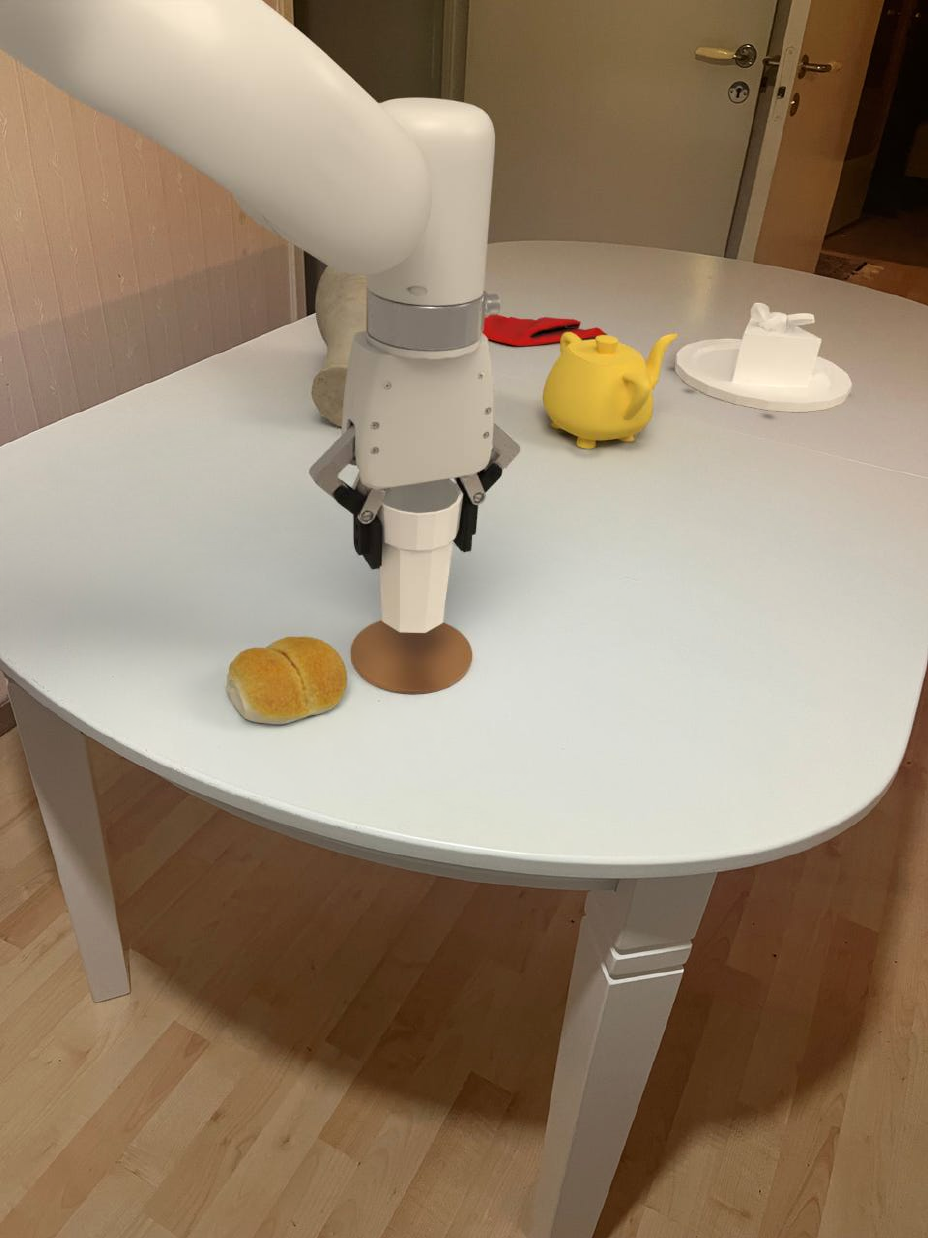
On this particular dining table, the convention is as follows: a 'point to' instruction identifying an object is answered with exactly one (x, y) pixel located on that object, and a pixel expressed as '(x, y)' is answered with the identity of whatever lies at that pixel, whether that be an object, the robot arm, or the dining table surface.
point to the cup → (417, 553)
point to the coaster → (411, 658)
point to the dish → (766, 366)
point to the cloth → (533, 330)
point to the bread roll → (286, 680)
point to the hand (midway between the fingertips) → (415, 549)
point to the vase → (337, 336)
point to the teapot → (602, 388)
